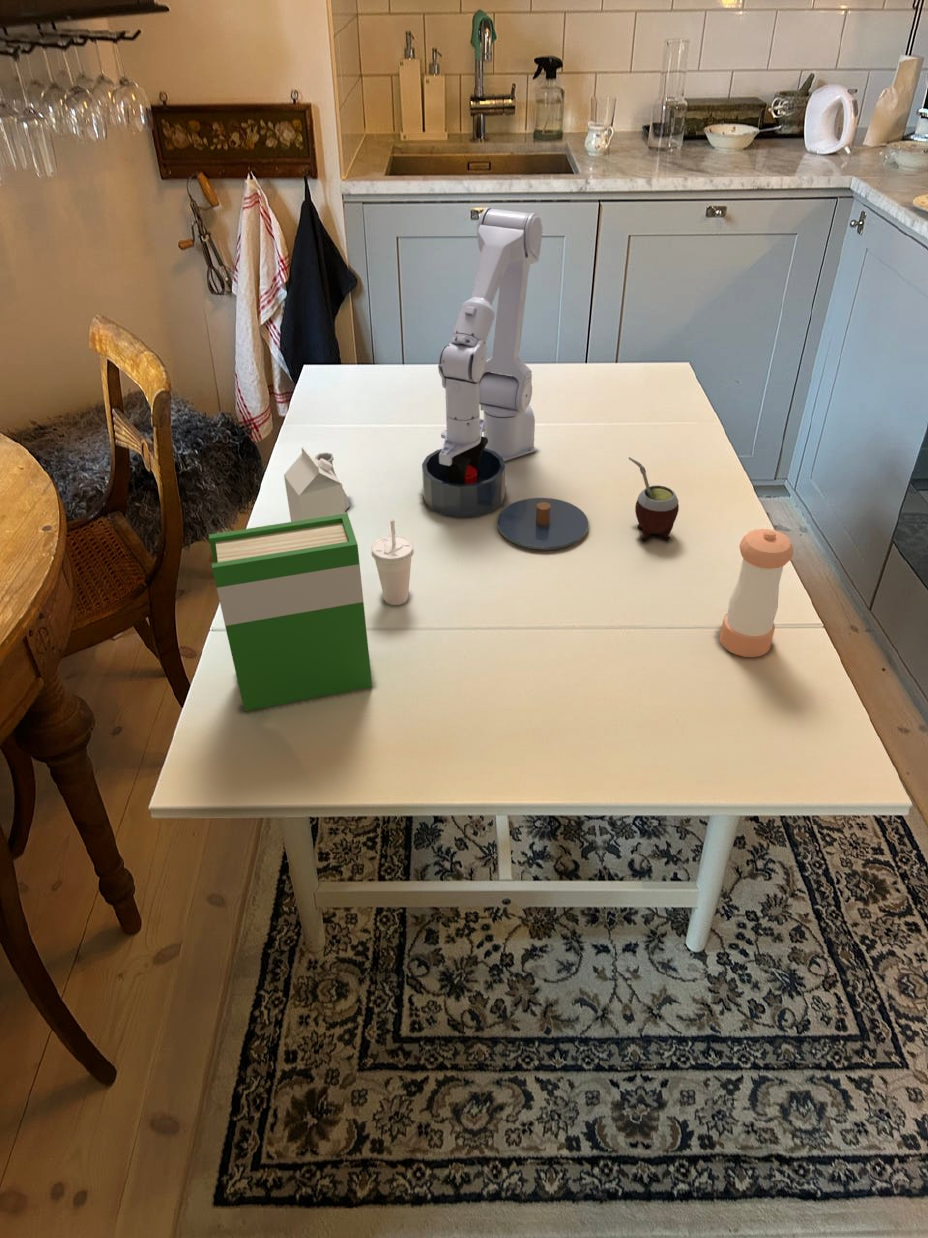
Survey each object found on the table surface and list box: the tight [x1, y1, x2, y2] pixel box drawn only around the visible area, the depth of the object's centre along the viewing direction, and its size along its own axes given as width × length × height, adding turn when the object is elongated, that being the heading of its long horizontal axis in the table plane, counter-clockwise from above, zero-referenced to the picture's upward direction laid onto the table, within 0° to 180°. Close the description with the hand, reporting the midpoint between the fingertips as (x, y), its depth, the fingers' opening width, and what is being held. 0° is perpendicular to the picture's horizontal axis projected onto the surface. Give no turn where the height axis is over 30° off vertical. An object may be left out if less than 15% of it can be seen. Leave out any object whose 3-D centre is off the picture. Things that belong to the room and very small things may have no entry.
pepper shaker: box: [719, 528, 794, 658], centre depth 131 cm, size 7×7×19 cm
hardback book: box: [208, 512, 373, 712], centre depth 124 cm, size 18×7×24 cm, turn 105°
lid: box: [497, 497, 589, 550], centre depth 160 cm, size 16×16×4 cm
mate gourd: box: [628, 456, 680, 543], centre depth 155 cm, size 8×8×15 cm
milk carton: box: [283, 446, 346, 522], centre depth 149 cm, size 7×7×19 cm
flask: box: [314, 452, 351, 511], centre depth 165 cm, size 7×7×10 cm
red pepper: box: [465, 465, 477, 484], centre depth 168 cm, size 5×5×5 cm
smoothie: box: [370, 518, 415, 606], centre depth 142 cm, size 6×6×14 cm
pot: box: [421, 448, 507, 518], centre depth 168 cm, size 15×15×6 cm
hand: (463, 482), depth 168 cm, fingers closed on red pepper, 5 cm apart
